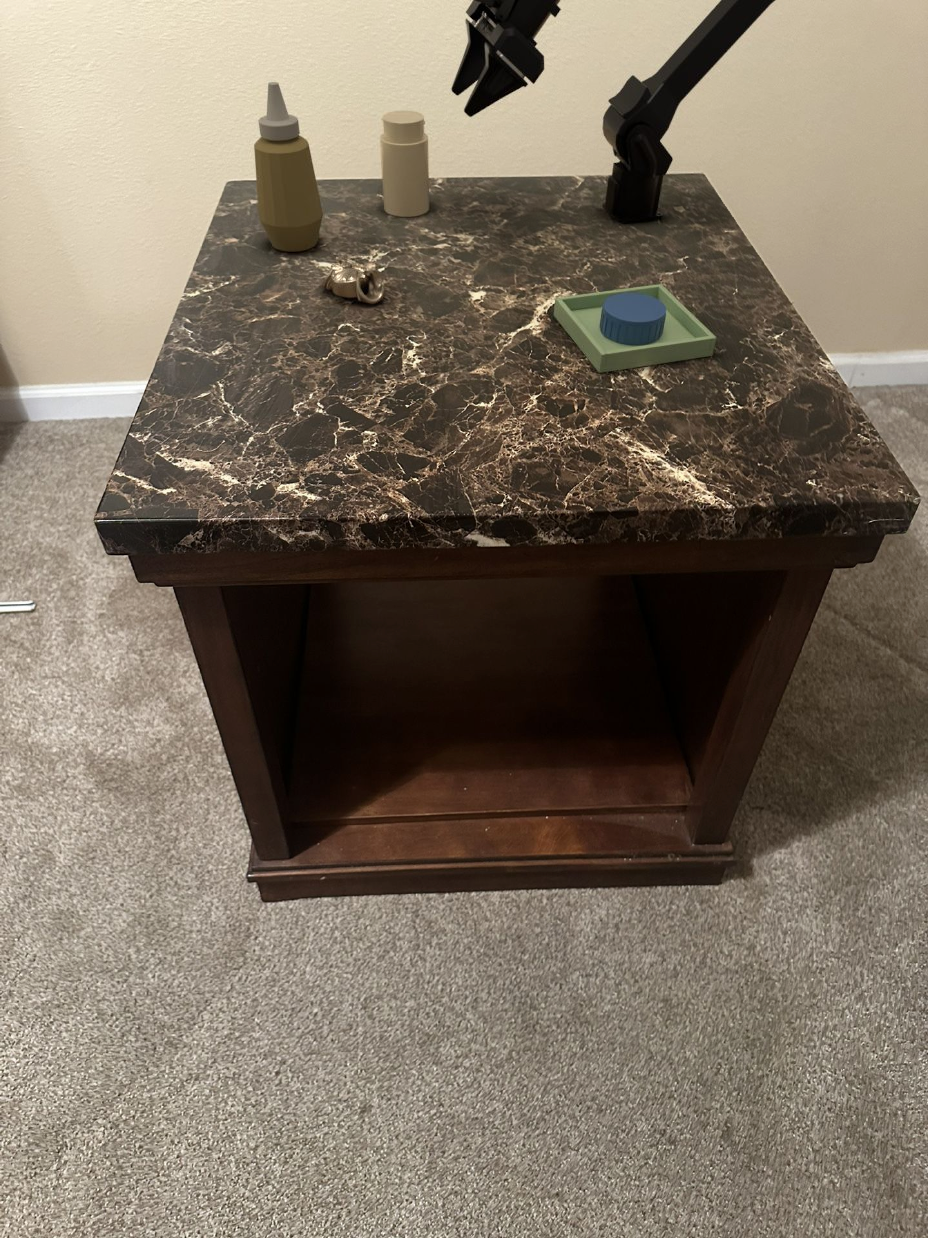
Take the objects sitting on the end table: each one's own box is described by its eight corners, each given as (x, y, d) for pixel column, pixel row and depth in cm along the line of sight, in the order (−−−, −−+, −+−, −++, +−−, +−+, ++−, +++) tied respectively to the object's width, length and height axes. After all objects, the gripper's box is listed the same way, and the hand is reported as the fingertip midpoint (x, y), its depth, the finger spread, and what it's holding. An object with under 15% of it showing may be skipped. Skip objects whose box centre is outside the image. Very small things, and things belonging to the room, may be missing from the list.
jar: (422, 197, 119) (420, 107, 110) (434, 214, 115) (433, 121, 106) (379, 201, 117) (373, 110, 109) (389, 218, 113) (384, 125, 105)
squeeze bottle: (336, 236, 109) (321, 77, 96) (308, 260, 104) (288, 96, 91) (281, 227, 111) (259, 70, 98) (251, 251, 105) (223, 88, 92)
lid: (595, 341, 89) (599, 317, 87) (603, 312, 94) (606, 289, 92) (660, 349, 88) (664, 325, 86) (664, 319, 93) (668, 296, 91)
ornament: (401, 291, 98) (400, 260, 96) (364, 313, 94) (361, 281, 92) (350, 273, 101) (348, 243, 99) (312, 294, 97) (308, 263, 95)
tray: (657, 301, 97) (661, 283, 96) (712, 355, 89) (717, 337, 87) (553, 315, 95) (555, 297, 93) (599, 373, 86) (601, 354, 84)
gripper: (475, -90, 96) (398, 38, 104) (509, -67, 84) (418, 77, 91) (543, -18, 103) (466, 98, 110) (584, 14, 90) (493, 143, 97)
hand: (460, 103), depth 102 cm, fingers open, 9 cm apart
